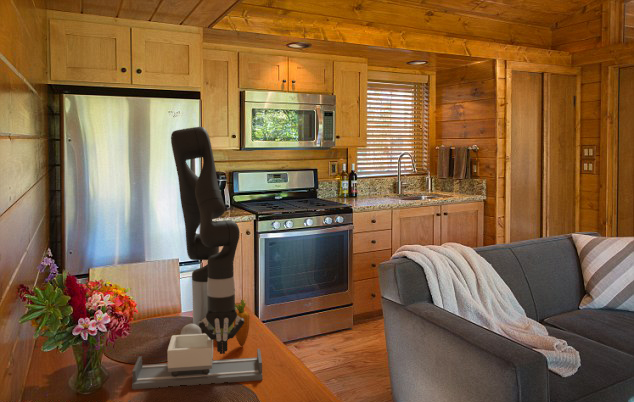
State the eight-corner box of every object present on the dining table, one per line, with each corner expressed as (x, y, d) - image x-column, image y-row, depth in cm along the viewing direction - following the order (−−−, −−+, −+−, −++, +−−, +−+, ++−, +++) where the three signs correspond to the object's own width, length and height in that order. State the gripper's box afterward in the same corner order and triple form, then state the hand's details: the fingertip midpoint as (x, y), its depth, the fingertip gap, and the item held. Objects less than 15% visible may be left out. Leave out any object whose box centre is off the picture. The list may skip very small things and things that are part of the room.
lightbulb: (204, 356, 156) (204, 321, 155) (198, 364, 150) (197, 328, 149) (185, 355, 157) (184, 320, 156) (178, 363, 151) (177, 327, 150)
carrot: (241, 350, 160) (241, 304, 159) (230, 347, 163) (229, 301, 162) (253, 346, 164) (252, 300, 163) (241, 342, 167) (241, 297, 166)
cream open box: (172, 361, 147) (172, 335, 147) (213, 359, 149) (212, 333, 149) (168, 379, 136) (167, 350, 135) (212, 376, 138) (211, 348, 137)
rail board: (140, 370, 146) (139, 354, 146) (259, 362, 152) (259, 347, 152) (132, 389, 135) (131, 373, 134) (262, 380, 140) (262, 364, 140)
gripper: (244, 287, 147) (245, 346, 149) (197, 289, 145) (198, 349, 146) (245, 295, 140) (246, 356, 141) (195, 297, 137) (197, 359, 139)
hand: (222, 352), depth 144 cm, fingers closed
